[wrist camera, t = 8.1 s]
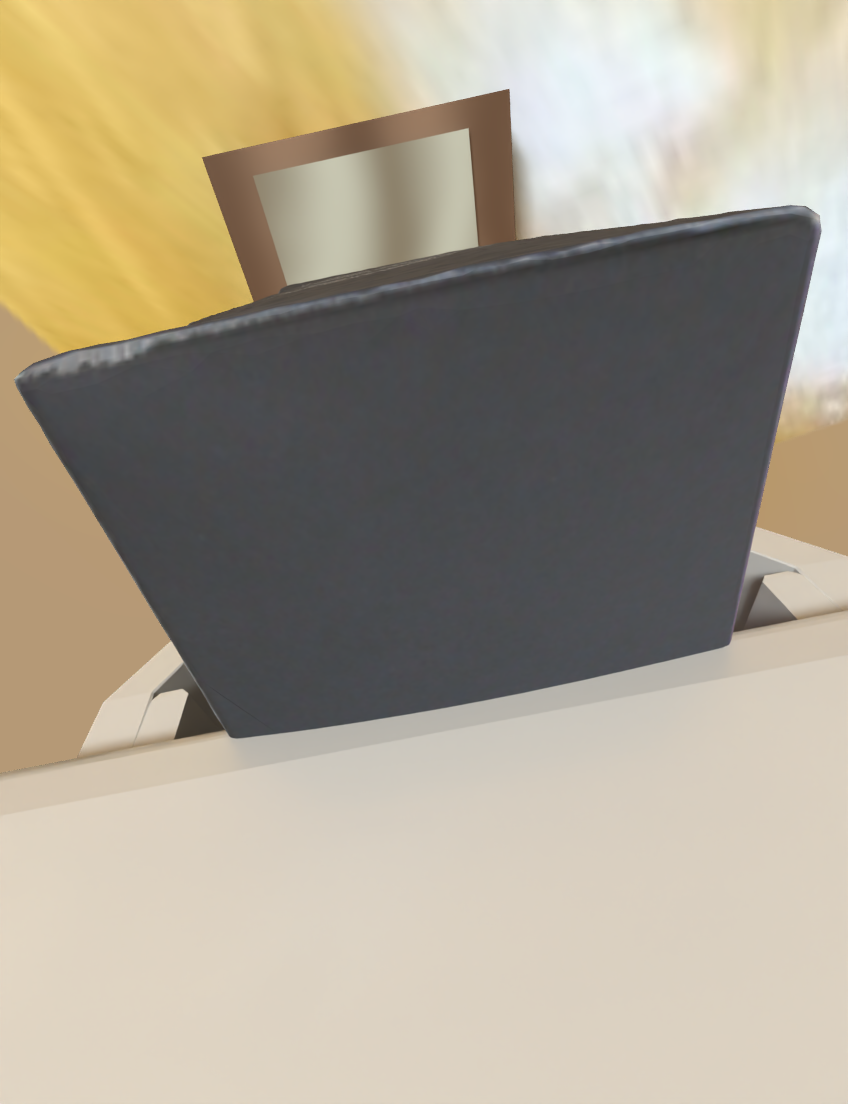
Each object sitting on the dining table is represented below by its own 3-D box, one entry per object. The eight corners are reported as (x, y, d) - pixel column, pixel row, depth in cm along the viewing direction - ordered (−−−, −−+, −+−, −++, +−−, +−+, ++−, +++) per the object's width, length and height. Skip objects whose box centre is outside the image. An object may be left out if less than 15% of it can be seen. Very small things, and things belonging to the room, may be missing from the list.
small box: (545, 575, 17) (700, 912, 9) (369, 606, 18) (344, 959, 9) (526, 230, 12) (916, 173, 3) (270, 284, 12) (-62, 378, 3)
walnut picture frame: (494, 96, 24) (511, 87, 21) (511, 406, 34) (524, 426, 31) (217, 157, 24) (200, 157, 21) (316, 446, 34) (313, 469, 31)
